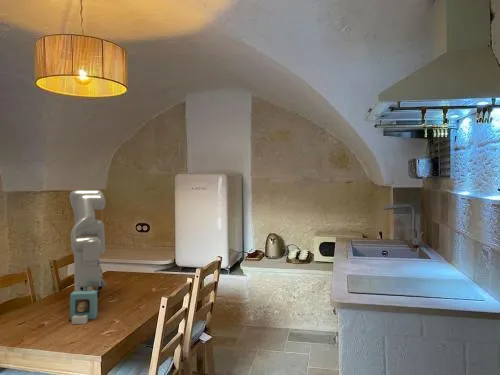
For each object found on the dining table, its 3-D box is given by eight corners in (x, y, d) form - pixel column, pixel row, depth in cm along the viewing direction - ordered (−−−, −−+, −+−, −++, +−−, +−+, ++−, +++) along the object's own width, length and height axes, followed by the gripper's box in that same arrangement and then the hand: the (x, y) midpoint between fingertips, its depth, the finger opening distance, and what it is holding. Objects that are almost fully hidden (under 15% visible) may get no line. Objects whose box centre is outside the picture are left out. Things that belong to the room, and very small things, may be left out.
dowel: (87, 300, 204) (88, 291, 204) (96, 300, 205) (97, 291, 205) (74, 314, 182) (75, 304, 182) (84, 314, 183) (85, 304, 183)
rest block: (73, 322, 184) (73, 315, 184) (87, 321, 185) (87, 314, 185) (71, 324, 181) (71, 317, 181) (85, 323, 182) (85, 317, 182)
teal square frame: (73, 316, 191) (73, 291, 191) (97, 315, 193) (97, 290, 193) (70, 320, 186) (70, 294, 186) (94, 319, 188) (94, 293, 188)
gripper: (110, 261, 208) (110, 296, 208) (75, 262, 205) (76, 298, 205) (106, 264, 200) (107, 301, 200) (71, 265, 198) (71, 302, 198)
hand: (91, 299), depth 203 cm, fingers closed on dowel, 4 cm apart
